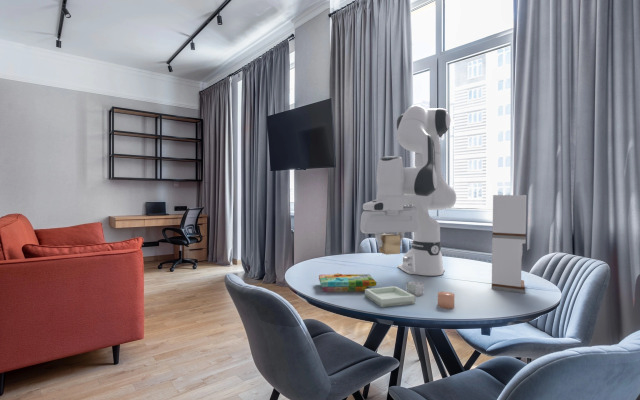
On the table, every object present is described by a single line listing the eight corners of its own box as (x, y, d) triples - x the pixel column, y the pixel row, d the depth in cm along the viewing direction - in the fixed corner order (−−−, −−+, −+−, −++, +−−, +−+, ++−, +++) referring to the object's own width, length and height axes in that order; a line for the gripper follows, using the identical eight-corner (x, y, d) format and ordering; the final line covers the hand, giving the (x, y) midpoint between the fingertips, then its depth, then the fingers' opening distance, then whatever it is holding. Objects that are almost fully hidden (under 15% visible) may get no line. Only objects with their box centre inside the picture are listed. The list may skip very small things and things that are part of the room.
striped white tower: (524, 293, 124) (526, 195, 124) (491, 288, 130) (493, 195, 129) (523, 285, 134) (525, 195, 133) (493, 282, 139) (494, 194, 139)
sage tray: (364, 296, 120) (365, 289, 120) (395, 293, 123) (395, 286, 123) (381, 307, 108) (381, 299, 108) (415, 303, 112) (415, 295, 112)
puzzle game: (318, 272, 135) (369, 272, 137) (318, 284, 135) (369, 284, 137) (321, 280, 124) (376, 279, 125) (321, 293, 124) (376, 292, 125)
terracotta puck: (434, 304, 111) (434, 292, 111) (447, 303, 113) (447, 290, 113) (444, 309, 107) (444, 296, 107) (457, 308, 108) (458, 295, 108)
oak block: (379, 252, 117) (379, 234, 117) (392, 251, 119) (392, 233, 119) (386, 254, 112) (386, 236, 112) (399, 253, 114) (400, 235, 114)
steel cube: (406, 294, 123) (406, 282, 123) (414, 292, 125) (414, 281, 125) (415, 296, 120) (415, 285, 120) (423, 294, 122) (423, 283, 122)
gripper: (411, 204, 121) (411, 243, 122) (358, 204, 115) (358, 246, 115) (422, 204, 115) (422, 246, 116) (366, 205, 109) (366, 249, 109)
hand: (389, 246), depth 115 cm, fingers closed on oak block, 5 cm apart
